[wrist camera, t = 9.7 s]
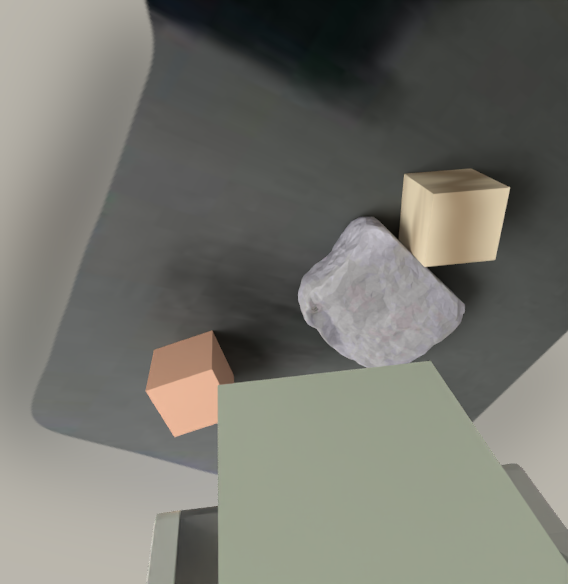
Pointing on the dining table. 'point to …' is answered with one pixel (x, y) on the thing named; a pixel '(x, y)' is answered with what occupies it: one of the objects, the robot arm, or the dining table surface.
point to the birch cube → (452, 216)
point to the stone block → (377, 298)
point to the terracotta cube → (188, 382)
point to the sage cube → (367, 486)
